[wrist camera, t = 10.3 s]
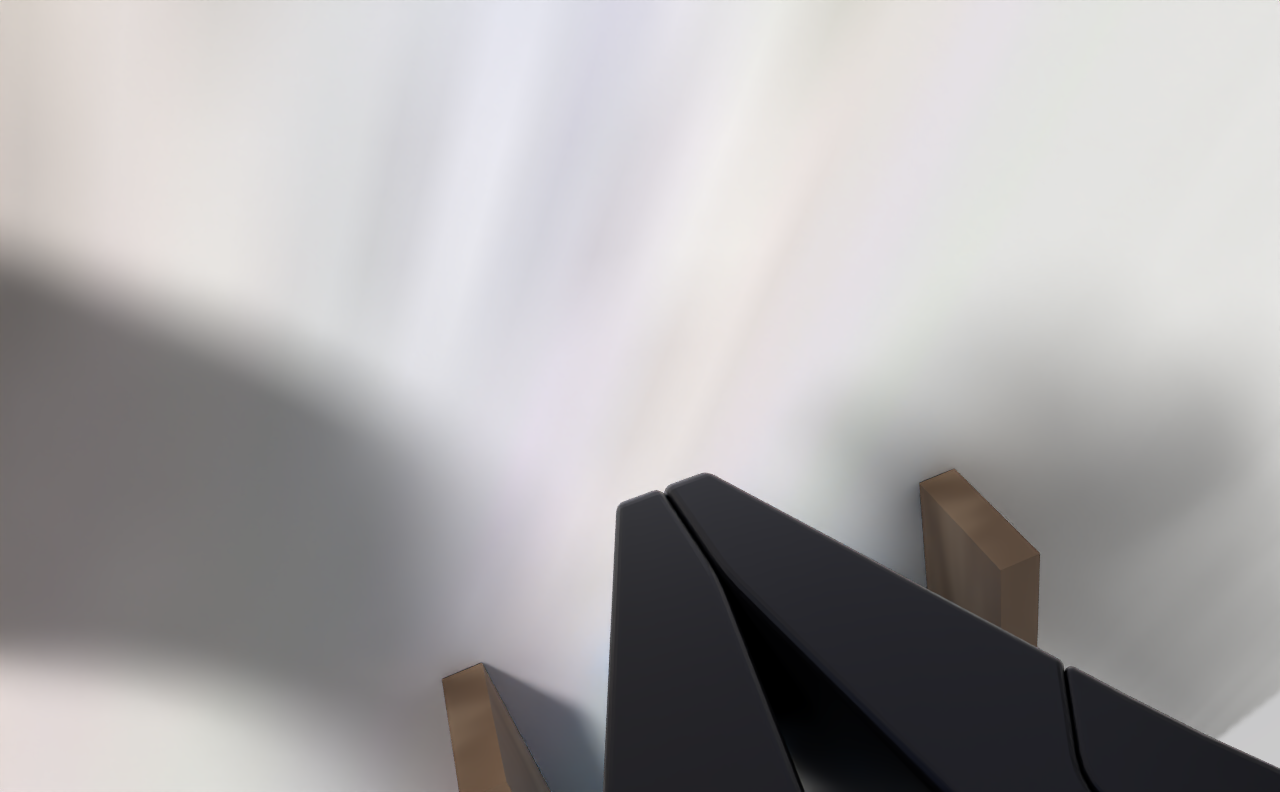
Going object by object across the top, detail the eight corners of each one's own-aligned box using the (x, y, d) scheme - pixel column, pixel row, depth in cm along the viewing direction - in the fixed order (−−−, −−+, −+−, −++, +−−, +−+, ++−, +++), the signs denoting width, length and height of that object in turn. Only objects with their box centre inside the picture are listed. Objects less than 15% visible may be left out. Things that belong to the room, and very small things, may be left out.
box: (577, 910, 34) (605, 1024, 31) (442, 679, 26) (460, 801, 23) (966, 735, 36) (1031, 825, 33) (954, 468, 28) (1039, 553, 24)
